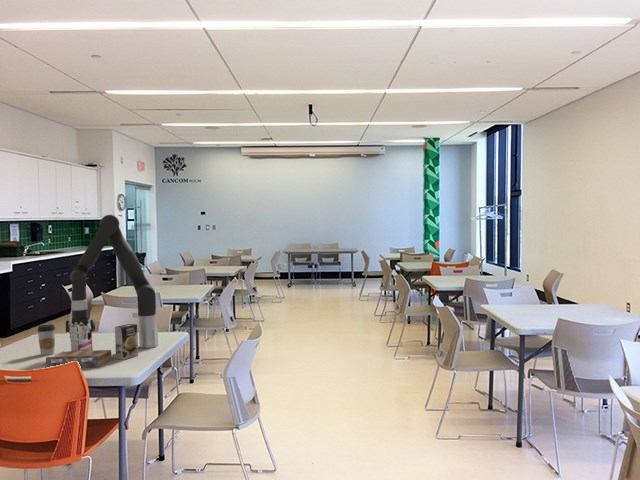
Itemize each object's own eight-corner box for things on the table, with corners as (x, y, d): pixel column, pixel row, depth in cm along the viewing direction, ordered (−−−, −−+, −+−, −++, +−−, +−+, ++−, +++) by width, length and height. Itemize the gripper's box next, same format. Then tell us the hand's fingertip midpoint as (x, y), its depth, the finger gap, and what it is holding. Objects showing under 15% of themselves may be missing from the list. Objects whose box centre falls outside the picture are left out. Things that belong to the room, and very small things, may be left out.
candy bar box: (84, 352, 282) (82, 321, 282) (93, 352, 281) (91, 321, 281) (70, 357, 271) (68, 325, 271) (79, 358, 270) (77, 325, 270)
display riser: (111, 357, 269) (110, 346, 269) (97, 367, 251) (97, 355, 251) (63, 359, 268) (62, 348, 268) (46, 369, 251) (45, 357, 251)
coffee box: (124, 360, 263) (122, 327, 263) (115, 358, 267) (114, 326, 266) (139, 355, 271) (137, 324, 270) (130, 354, 275) (129, 323, 274)
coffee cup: (38, 356, 275) (37, 328, 275) (38, 353, 283) (37, 325, 282) (56, 354, 279) (55, 326, 279) (56, 351, 287) (54, 323, 286)
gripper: (96, 307, 279) (97, 337, 280) (68, 307, 279) (70, 338, 280) (90, 309, 272) (91, 341, 272) (62, 310, 272) (63, 341, 272)
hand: (80, 339), depth 276 cm, fingers open, 8 cm apart
